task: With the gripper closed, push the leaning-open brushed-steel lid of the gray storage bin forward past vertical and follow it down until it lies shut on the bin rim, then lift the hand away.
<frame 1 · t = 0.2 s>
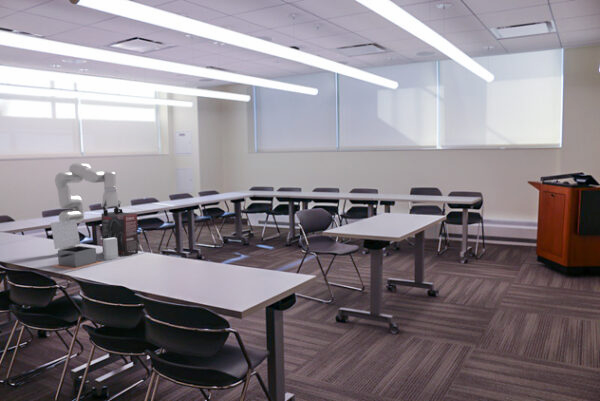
hand: (111, 214, 326), 31 cm above the table, fingers open, 9 cm apart
skincare box: (110, 259, 331), on the table
lid: (64, 233, 317), point 20 cm above the table, hinge at 100.0°
trivet mat: (77, 265, 314), on the table
gray storage bin: (77, 264, 314), resting on trivet mat
headset box: (120, 253, 351), on the table
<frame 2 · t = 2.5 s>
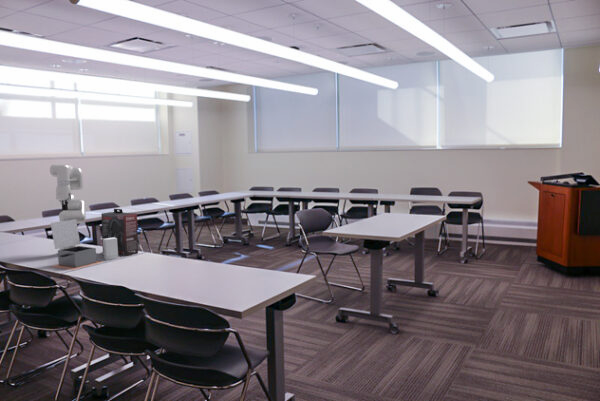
hand: (64, 210, 325), 35 cm above the table, fingers closed
nothing on the table moved.
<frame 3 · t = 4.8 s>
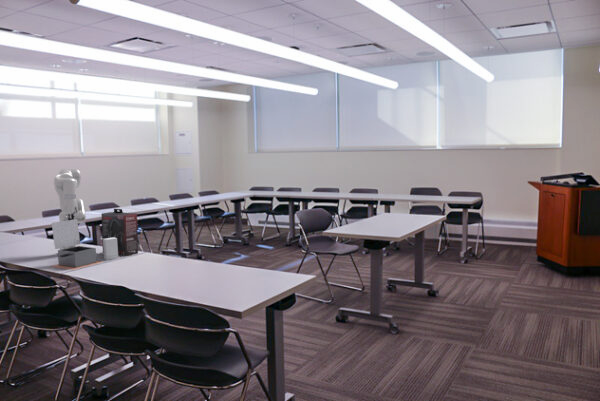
hand: (71, 223, 323), 25 cm above the table, fingers closed
lid: (65, 233, 316), point 20 cm above the table, hinge at 96.4°, touching gripper
everything else where it was.
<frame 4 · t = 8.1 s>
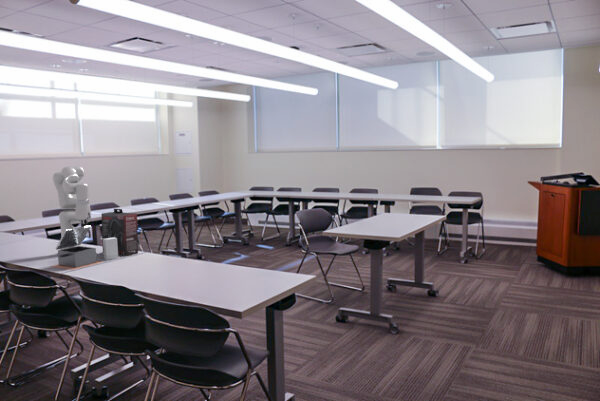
hand: (84, 229, 318), 22 cm above the table, fingers closed
lid: (72, 236, 313), point 19 cm above the table, hinge at 50.9°, touching gripper
everything else where it was.
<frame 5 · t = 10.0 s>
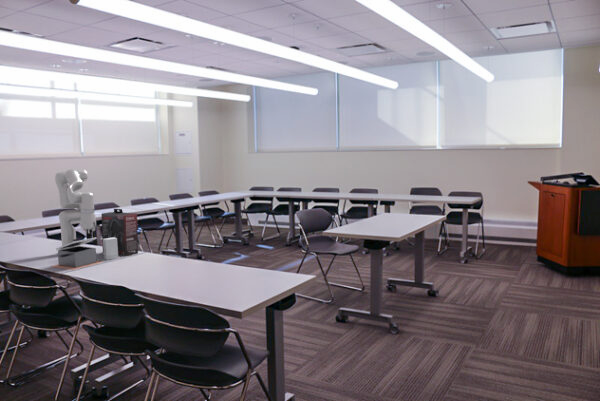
hand: (89, 239, 317), 16 cm above the table, fingers closed
lid: (76, 241, 312), point 15 cm above the table, hinge at 20.1°, touching gripper
everything else where it was.
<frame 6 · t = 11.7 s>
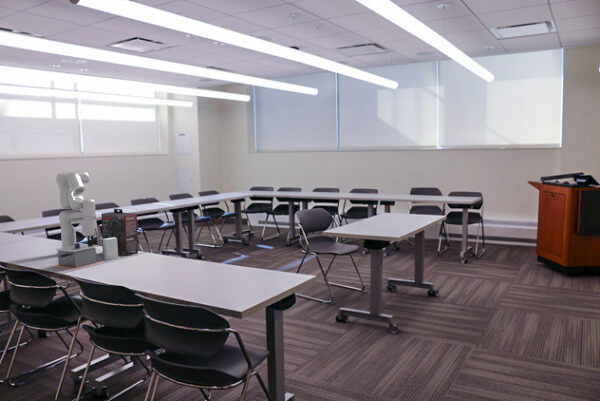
hand: (90, 245, 317), 12 cm above the table, fingers closed
lid: (77, 246, 312), point 13 cm above the table, hinge at 2.1°, touching gripper
everything else where it was.
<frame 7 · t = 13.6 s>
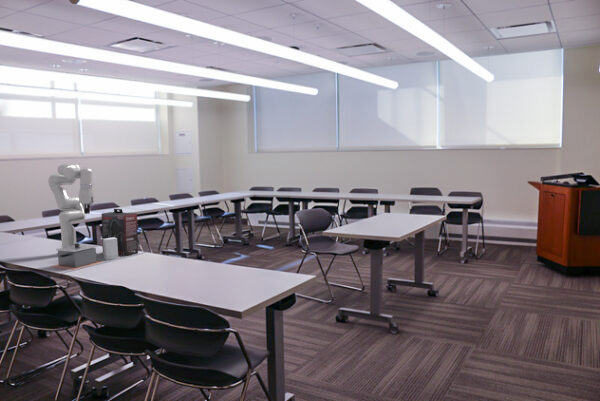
hand: (87, 213, 326), 32 cm above the table, fingers closed
lid: (77, 246, 312), point 13 cm above the table, hinge at 2.1°
everything else where it was.
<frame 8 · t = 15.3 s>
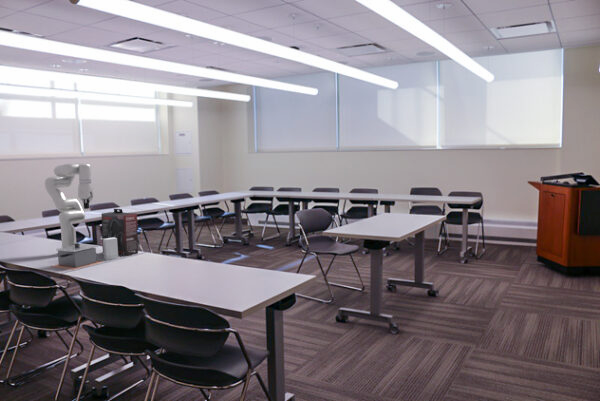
hand: (86, 208, 330), 35 cm above the table, fingers closed
nothing on the table moved.
at the end: lid at +2° (first picture: +100°); lid touching nothing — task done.
